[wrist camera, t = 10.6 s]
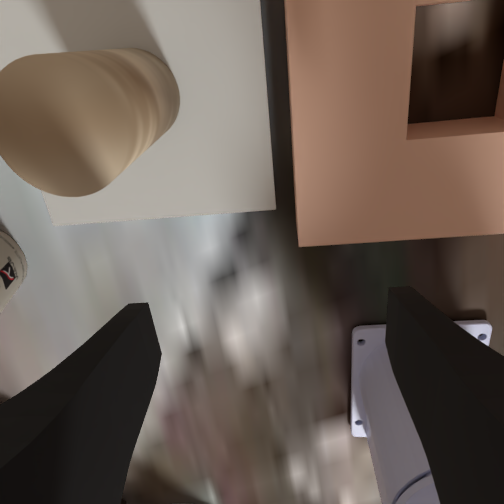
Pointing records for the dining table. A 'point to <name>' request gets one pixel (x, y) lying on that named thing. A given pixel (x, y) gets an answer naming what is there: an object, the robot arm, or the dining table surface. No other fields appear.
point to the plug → (83, 116)
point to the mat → (191, 102)
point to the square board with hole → (380, 133)
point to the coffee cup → (10, 268)
